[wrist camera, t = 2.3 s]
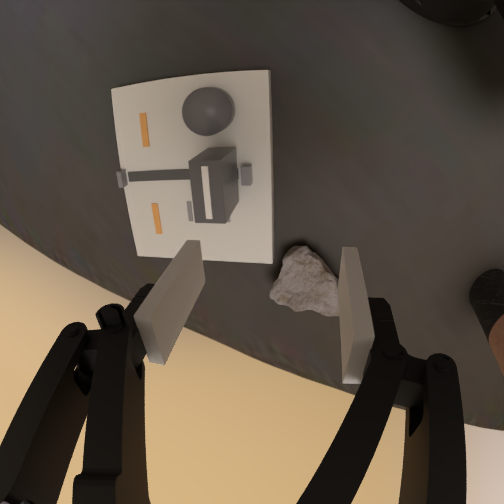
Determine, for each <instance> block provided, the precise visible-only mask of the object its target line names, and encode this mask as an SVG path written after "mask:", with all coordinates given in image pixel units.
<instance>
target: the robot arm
mask: <svg viewBox="0 0 504 504" xmlns="http://www.w3.org/2000/svg"><path fill="white" fill-rule="evenodd" d="M400 1H401V2H402V3H404V4H405V5H406V6H407V7H409V8H410V9H412V10H413V11H415V12H416V13H418V14H420V15H421V16H423V17H425V18H427V19H429V20H432V21H434V22H437V23H441V24H444V25H450V26H466V25H471V24H474V23H478V22H481V21H483V20H485V19H486V18H488V17H489V16H490V15H491V14H492V13H493V12H494V11H495V9H496V8H497V9H498V10H499V12H500V14H501V16H502V19H503V20H504V0H400ZM204 284H205V274H204V267H203V260H202V252H201V244H200V240H187V241H186V242H185V243H184V245H183V246H182V247H181V249H180V250H179V252H178V253H177V254H176V256H175V257H174V258H173V260H172V261H171V263H170V264H169V265H168V267H167V268H166V270H165V271H164V272H163V274H162V275H161V277H160V278H159V280H158V281H157V282H156V284H149V283H148V284H146V285H145V286H144V287H142V288H141V289H140V290H139V291H138V292H137V294H136V295H135V297H134V298H133V299H132V301H131V302H130V304H129V305H128V306H127V308H126V309H125V310H124V307H123V306H122V305H120V304H108V305H105V306H103V307H101V308H100V309H99V310H98V311H97V313H96V318H97V320H98V322H99V325H100V327H101V329H99V330H87V327H86V325H85V324H84V323H81V322H74V323H71V324H69V325H67V326H66V327H65V328H64V329H63V330H62V331H61V333H60V335H59V336H58V338H57V339H56V341H55V343H54V345H53V346H52V348H51V349H50V351H49V353H48V355H47V356H46V358H45V360H44V361H43V363H42V365H41V367H40V368H39V370H38V372H37V374H36V376H35V377H34V379H33V381H32V383H31V385H30V387H29V388H28V390H27V392H26V394H25V396H24V398H23V400H22V402H21V404H20V406H19V408H18V410H17V412H16V414H15V416H14V418H13V420H12V422H11V424H10V426H9V428H8V430H7V432H6V434H5V437H4V439H3V441H2V443H1V446H0V504H56V503H57V500H58V498H59V495H60V491H61V488H62V485H63V482H64V479H65V476H66V473H67V469H68V467H69V463H70V461H71V458H72V455H73V452H74V449H75V446H76V443H77V441H78V438H79V435H80V432H81V429H82V427H83V424H84V422H85V419H86V416H87V422H86V432H85V443H84V455H83V470H82V472H81V474H78V475H76V476H75V478H74V482H73V497H72V504H151V503H150V500H149V495H148V482H147V469H146V447H145V409H144V406H145V403H144V401H145V400H144V396H145V390H144V389H145V388H144V387H145V384H144V383H145V366H144V362H143V359H144V357H145V355H146V354H147V357H148V359H149V362H152V363H157V364H162V365H165V363H166V361H167V359H168V357H169V355H170V353H171V351H172V349H173V347H174V345H175V342H176V340H177V338H178V336H179V334H180V332H181V330H182V328H183V326H184V324H185V322H186V320H187V318H188V316H189V314H190V312H191V310H192V308H193V306H194V304H195V302H196V300H197V298H198V296H199V294H200V292H201V290H202V288H203V286H204ZM338 303H339V317H340V333H341V352H342V380H343V383H350V384H360V387H359V389H358V391H357V393H356V395H355V398H354V400H353V402H352V404H351V406H350V408H349V411H348V412H347V414H346V416H345V418H344V420H343V423H342V424H341V427H340V428H339V431H338V432H337V434H336V436H335V439H334V440H333V442H332V444H331V446H330V448H329V449H328V451H327V453H326V455H325V457H324V458H323V460H322V462H321V464H320V466H319V467H318V469H317V471H316V472H315V474H314V476H313V478H312V479H311V481H310V483H309V484H308V486H307V488H306V489H305V491H304V493H303V494H302V496H301V497H300V499H299V500H298V502H297V503H296V504H351V502H352V501H353V499H354V497H355V495H356V493H357V491H358V488H359V486H360V484H361V482H362V480H363V478H364V476H365V474H366V471H367V469H368V467H369V465H370V462H371V460H372V458H373V456H374V453H375V451H376V448H377V446H378V443H379V441H380V439H381V436H382V433H383V431H384V428H385V425H386V423H387V420H388V417H389V414H390V412H391V409H392V406H393V403H394V404H397V405H401V406H405V407H406V422H405V443H404V458H403V469H402V480H401V488H400V497H399V504H466V445H465V431H464V419H463V409H462V400H461V392H460V385H459V378H458V372H457V366H456V364H455V362H454V360H453V359H452V358H451V357H449V356H447V355H445V354H441V353H437V354H433V355H431V356H429V358H428V359H427V360H423V359H419V358H415V357H413V356H410V355H409V354H407V351H406V349H405V348H404V347H403V346H402V345H400V343H399V339H398V335H397V331H396V327H395V323H394V319H393V315H392V311H391V307H390V305H389V304H388V302H387V301H386V300H385V299H384V298H368V297H367V292H366V287H365V282H364V277H363V272H362V268H361V263H360V259H359V255H358V250H357V247H343V248H342V257H341V266H340V274H339V282H338ZM76 366H77V367H76ZM75 367H76V369H75ZM74 369H75V370H74ZM362 378H363V380H362ZM361 381H362V382H361Z"/></svg>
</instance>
